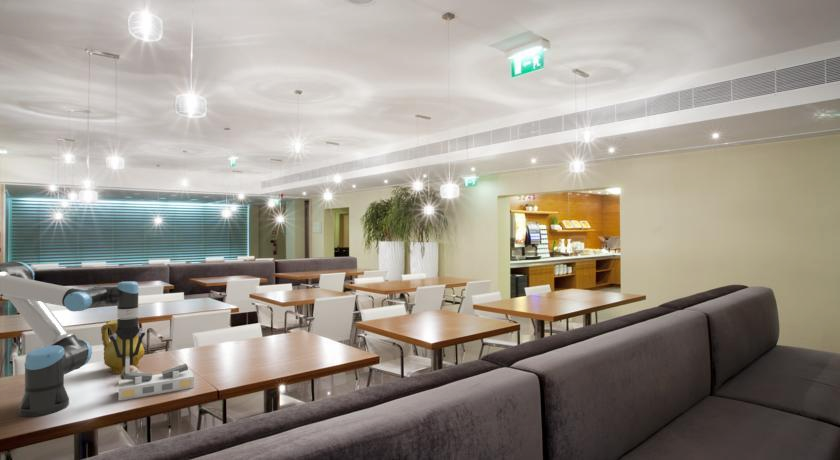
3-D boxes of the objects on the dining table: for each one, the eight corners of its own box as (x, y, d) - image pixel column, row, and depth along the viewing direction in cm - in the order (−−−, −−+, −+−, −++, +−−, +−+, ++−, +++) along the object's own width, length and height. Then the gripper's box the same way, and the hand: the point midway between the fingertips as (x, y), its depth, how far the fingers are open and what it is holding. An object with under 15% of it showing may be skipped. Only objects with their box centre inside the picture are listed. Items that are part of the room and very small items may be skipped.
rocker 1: (124, 379, 184) (125, 375, 184) (124, 376, 189) (125, 372, 189) (151, 380, 190) (152, 376, 190) (150, 377, 194) (151, 372, 194)
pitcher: (113, 376, 208) (114, 323, 210) (95, 371, 218) (96, 321, 219) (150, 368, 223) (151, 318, 224) (132, 363, 233) (133, 316, 234)
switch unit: (118, 401, 180) (118, 382, 180) (118, 391, 190) (118, 373, 190) (194, 387, 196) (194, 370, 196) (190, 379, 206) (190, 363, 206)
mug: (140, 384, 201) (128, 366, 199) (125, 391, 203) (113, 373, 201) (152, 374, 208) (140, 357, 206) (138, 382, 210) (126, 365, 209)
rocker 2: (163, 378, 192) (162, 374, 192) (162, 375, 197) (161, 371, 197) (188, 369, 198) (187, 366, 198) (186, 366, 202) (186, 363, 202)
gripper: (109, 321, 180) (108, 378, 180) (146, 317, 188) (145, 372, 188) (109, 317, 186) (109, 373, 186) (145, 314, 194) (144, 367, 194)
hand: (127, 372), depth 187 cm, fingers closed
